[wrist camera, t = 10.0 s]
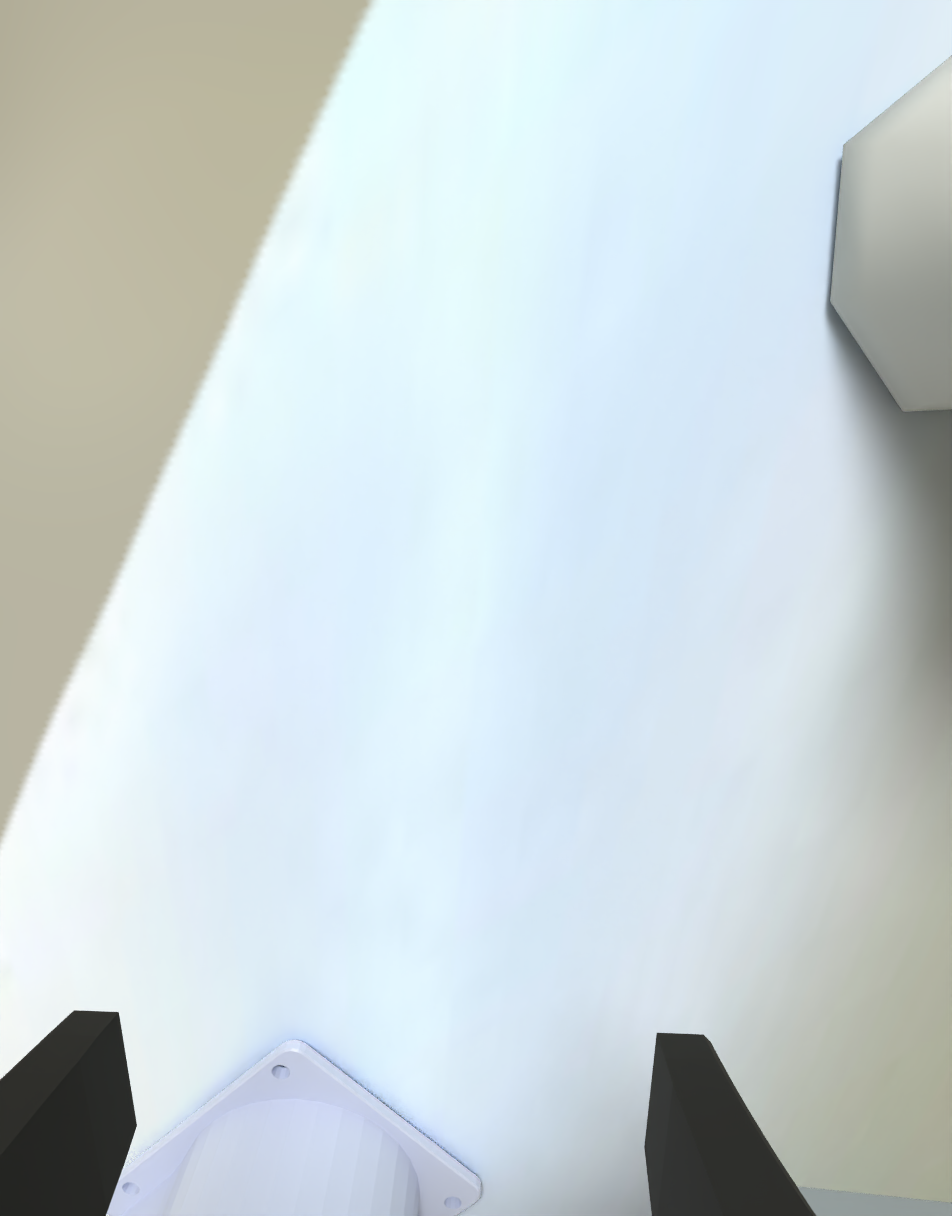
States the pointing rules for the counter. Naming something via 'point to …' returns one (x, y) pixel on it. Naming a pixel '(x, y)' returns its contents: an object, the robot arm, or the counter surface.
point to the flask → (901, 244)
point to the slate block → (870, 1204)
